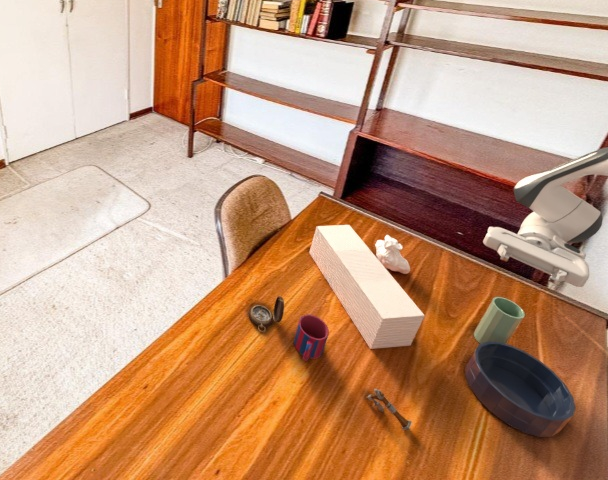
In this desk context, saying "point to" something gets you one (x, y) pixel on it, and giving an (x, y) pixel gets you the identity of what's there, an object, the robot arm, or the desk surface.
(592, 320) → the desk surface
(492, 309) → the green cup
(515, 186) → the robot arm
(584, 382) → the desk surface
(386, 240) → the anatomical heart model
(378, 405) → the brown grey jointed rod
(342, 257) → the stack of papers
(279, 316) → the compass
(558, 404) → the wash bowl
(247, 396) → the desk surface
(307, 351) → the mug
